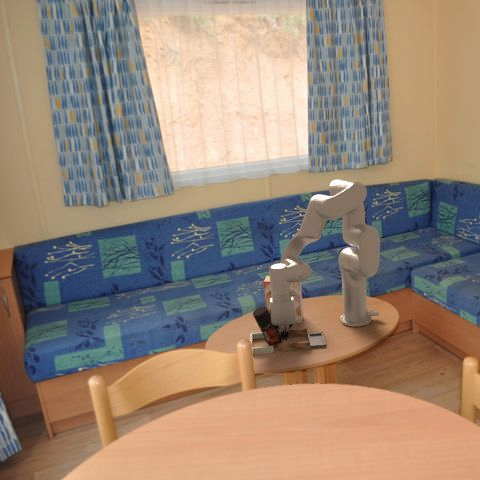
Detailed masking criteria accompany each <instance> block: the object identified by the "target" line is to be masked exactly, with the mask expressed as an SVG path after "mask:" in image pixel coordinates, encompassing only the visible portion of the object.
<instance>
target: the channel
mask: <svg viewBox="0 0 480 480" xmlns="http://www.w3.org/2000/svg"><path fill="white" fill-rule="evenodd" d="M277 330H278V329H277ZM278 332H279V334H280V336H281V332H280V330H278ZM284 334H285V331H284ZM288 334H289V338H292V337H293V338H294V337H295V338H296V337H306V336H307V337H308V327H302V328H301V327H300V328H290V329H289V331H288ZM277 346H278V352H291V351H292V352H294V351H304V350H305V351H306V350H312V348H311V347H310V341H309V340H307V341H295V342H292V341H291V342H281V343H279V344H278V345H277Z"/></svg>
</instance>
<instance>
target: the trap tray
mask: <svg viewBox="0 0 480 480" xmlns="http://www.w3.org/2000/svg"><path fill="white" fill-rule="evenodd" d="M307 339H308V341H310V347H311V349H315V348H327V343H326V339H325V336H324V333H323V331H321V332H309V333H308V336H307Z"/></svg>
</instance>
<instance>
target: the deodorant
mask: <svg viewBox="0 0 480 480" xmlns="http://www.w3.org/2000/svg"><path fill="white" fill-rule="evenodd" d="M252 316H253V318H254V319H255V320H254V321H256V323H257V326H258V327H259V329H260V332H262V333H263V335H264V337H265V338H264V339H265V342H266V343H267V344H268V345H267V346H273V348H274V347H275V348H276V347H277V346H278V344H279V343H283V338H281V336H280V334H279V332H278V329H277V328H276V326H275V325H273V324H272V322H271V319H270V314H269V312H268V310H267V308H266V306H260V307H258V308H256V309H254V311H253V312H252Z"/></svg>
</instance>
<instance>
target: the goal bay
mask: <svg viewBox="0 0 480 480" xmlns="http://www.w3.org/2000/svg"><path fill="white" fill-rule="evenodd" d="M249 335H250V336H249V342H250V341H251V343H252V346H253V347H252V348H253V353H254V354H253V355H261V354H272V353H273V354H274V353H275V350H274V347H273V346H269V345H267V346H266V345H265V346H254V344H253V342H254V340H259V339H265V337H264V335H263V333H262V332H261V331H259V332H257V331H255V332H249Z"/></svg>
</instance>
